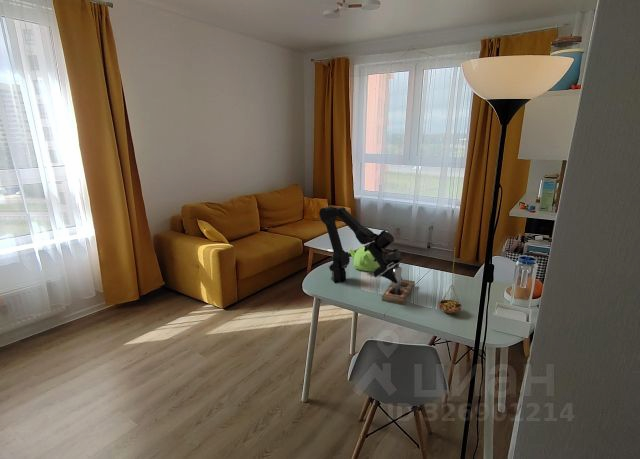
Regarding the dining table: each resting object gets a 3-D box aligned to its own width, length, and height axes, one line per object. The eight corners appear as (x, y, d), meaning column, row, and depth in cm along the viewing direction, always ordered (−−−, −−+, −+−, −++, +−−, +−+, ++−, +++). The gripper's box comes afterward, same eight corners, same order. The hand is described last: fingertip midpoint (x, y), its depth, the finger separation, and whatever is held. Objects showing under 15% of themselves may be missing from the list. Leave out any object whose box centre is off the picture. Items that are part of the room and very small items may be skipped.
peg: (392, 296, 157) (393, 269, 153) (390, 292, 161) (391, 266, 157) (401, 296, 157) (402, 269, 153) (399, 292, 161) (400, 266, 157)
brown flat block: (403, 305, 152) (403, 299, 151) (381, 300, 156) (381, 295, 155) (414, 286, 171) (414, 281, 170) (394, 282, 175) (394, 277, 174)
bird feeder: (462, 318, 140) (469, 248, 132) (439, 316, 142) (445, 247, 134) (458, 308, 148) (464, 241, 140) (437, 306, 150) (442, 241, 142)
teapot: (342, 271, 191) (342, 249, 188) (355, 260, 208) (356, 239, 205) (374, 276, 183) (374, 253, 180) (385, 264, 200) (385, 243, 197)
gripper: (379, 249, 148) (402, 279, 144) (399, 239, 162) (420, 266, 158) (363, 263, 155) (384, 291, 151) (384, 252, 169) (403, 278, 165)
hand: (399, 281), depth 156 cm, fingers closed on peg, 4 cm apart
